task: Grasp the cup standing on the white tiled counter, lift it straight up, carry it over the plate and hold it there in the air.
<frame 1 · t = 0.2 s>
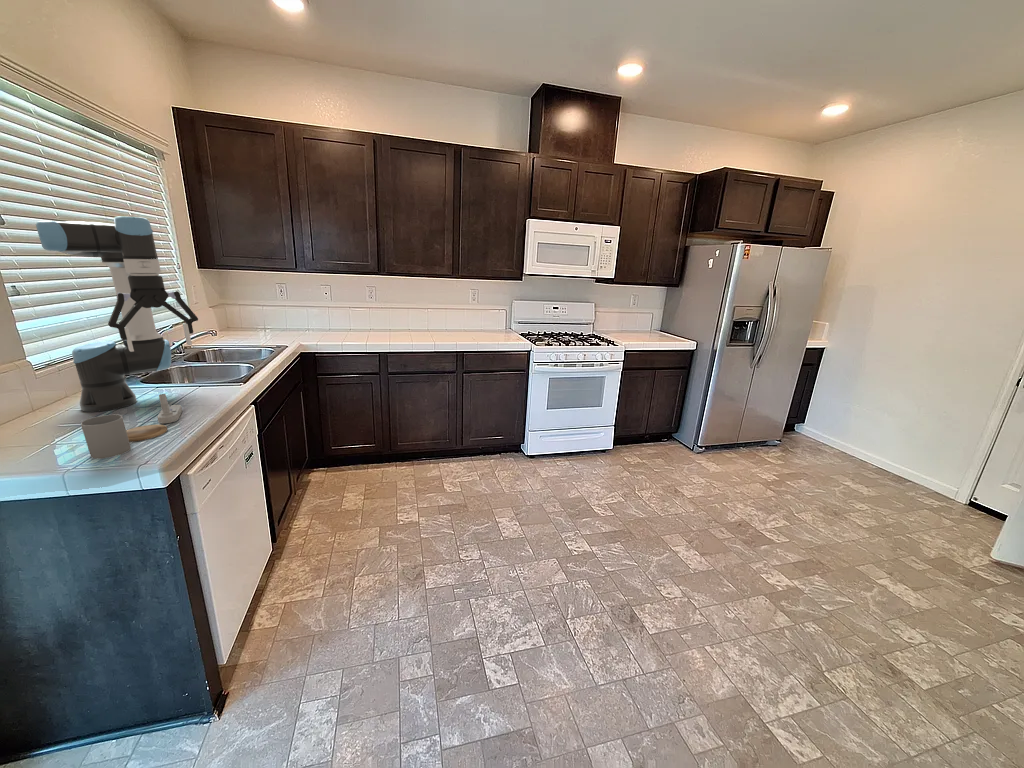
hand: (161, 347, 123), 28 cm above the worktop, fingers open, 13 cm apart
cup: (111, 452, 117), on the worktop
electronic device: (171, 418, 143), on the worktop
plate: (143, 434, 129), on the worktop
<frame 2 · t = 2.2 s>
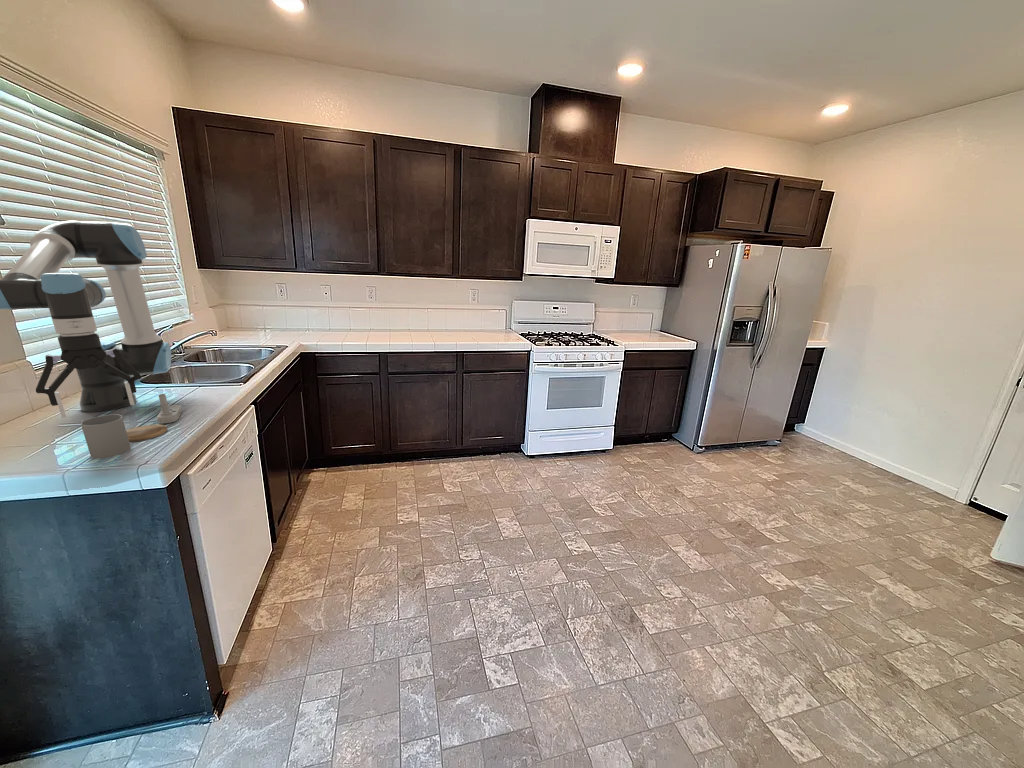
hand: (99, 410, 113), 13 cm above the worktop, fingers open, 13 cm apart
nothing on the worktop moved.
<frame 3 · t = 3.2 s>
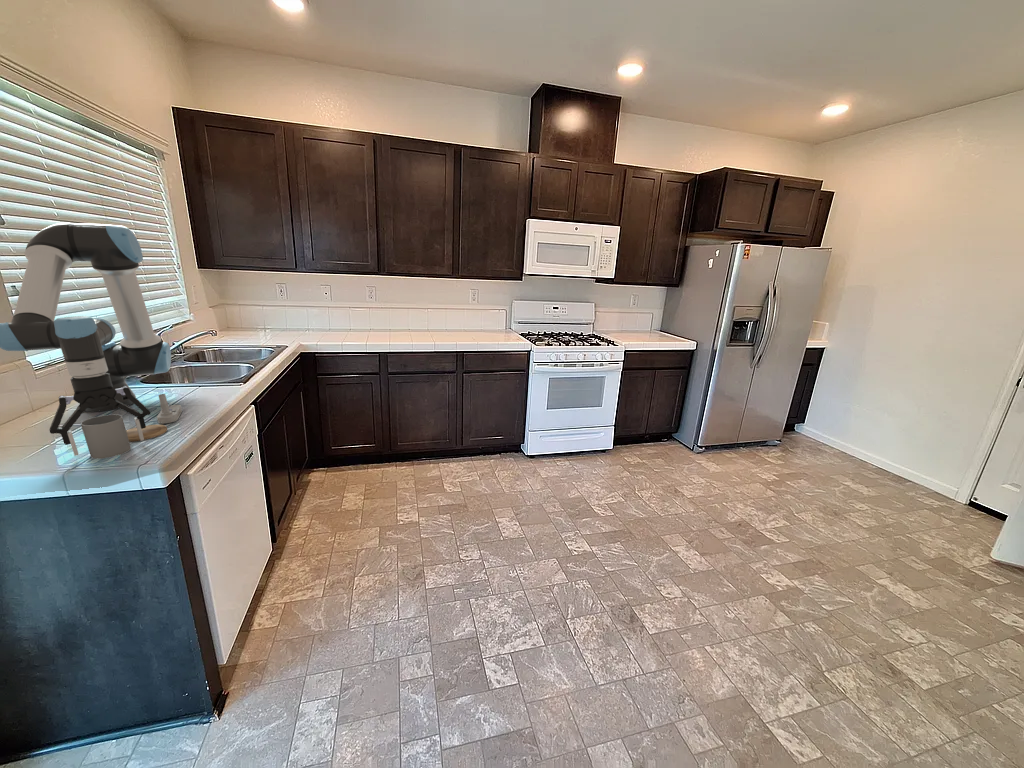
hand: (110, 446, 117), 2 cm above the worktop, fingers open, 13 cm apart
nothing on the worktop moved.
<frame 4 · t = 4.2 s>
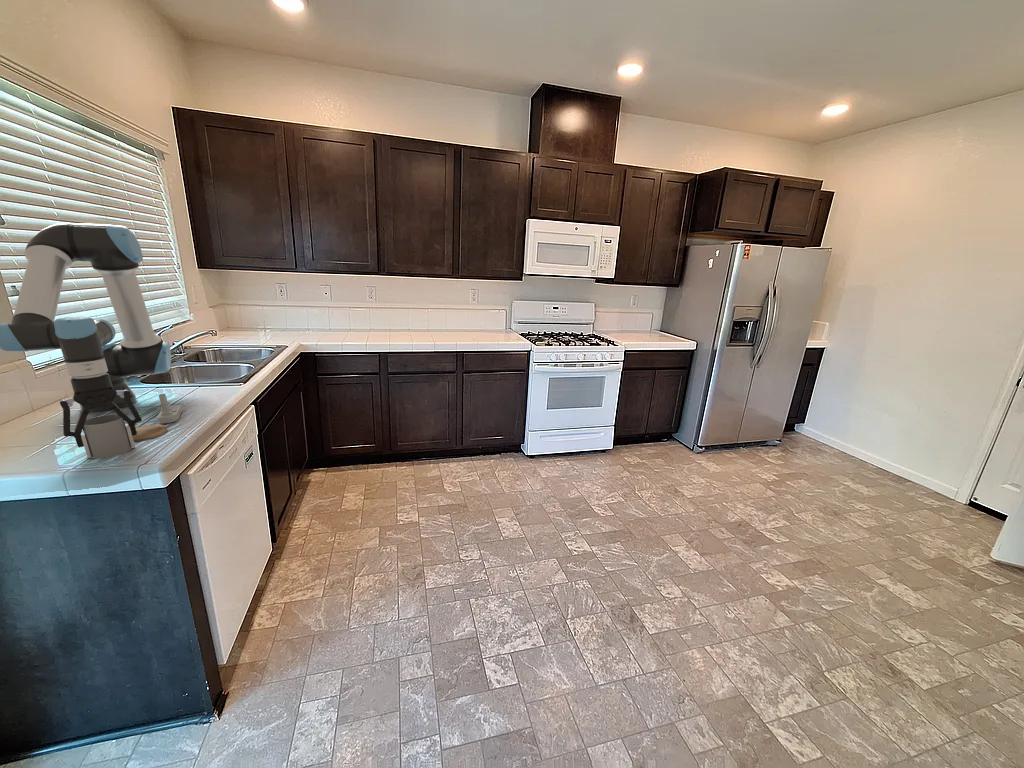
hand: (111, 451, 117), 0 cm above the worktop, fingers closed on cup, 8 cm apart
cup: (112, 452, 117), on the worktop, touching gripper
everything else where it was.
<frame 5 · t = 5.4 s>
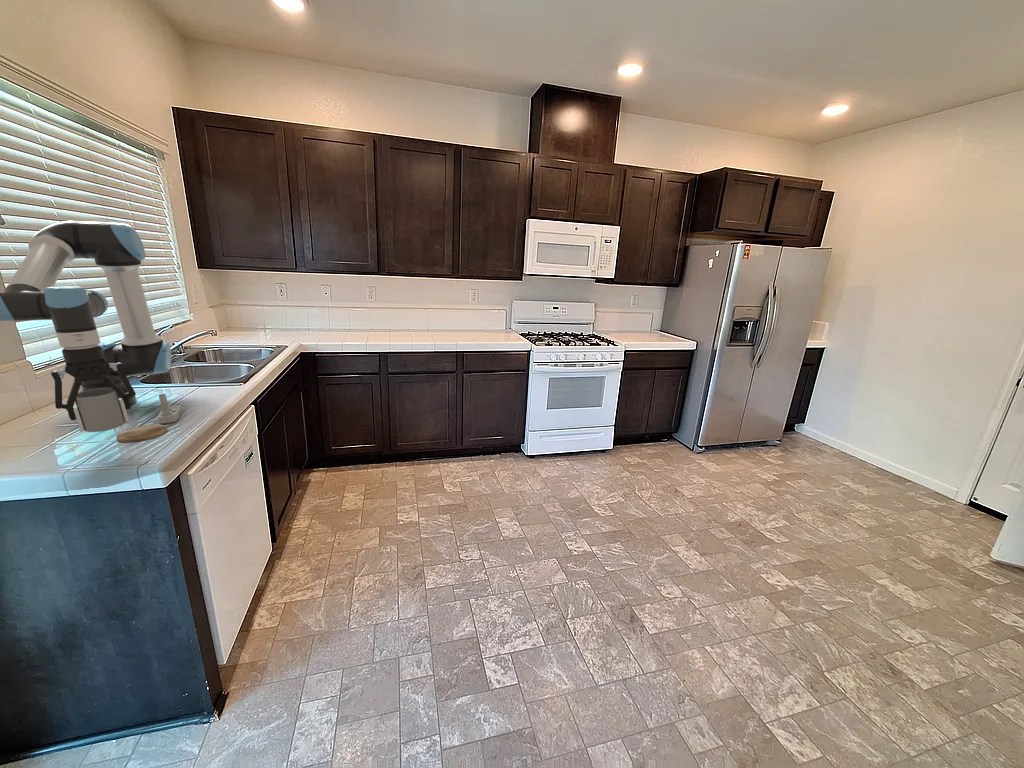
hand: (105, 424, 115), 8 cm above the worktop, fingers closed on cup, 8 cm apart
cup: (105, 426, 115), point 8 cm above the worktop, touching gripper
everything else where it was.
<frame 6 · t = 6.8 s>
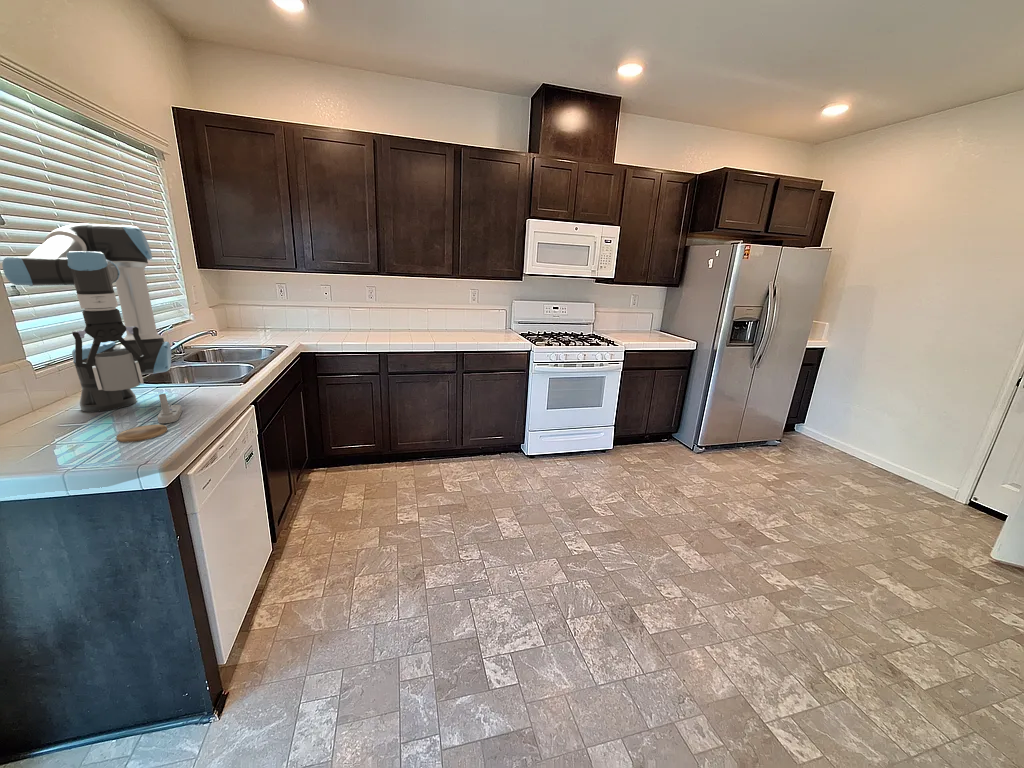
hand: (121, 385, 122), 17 cm above the worktop, fingers closed on cup, 8 cm apart
cup: (121, 387, 122), point 16 cm above the worktop, touching gripper
everything else where it was.
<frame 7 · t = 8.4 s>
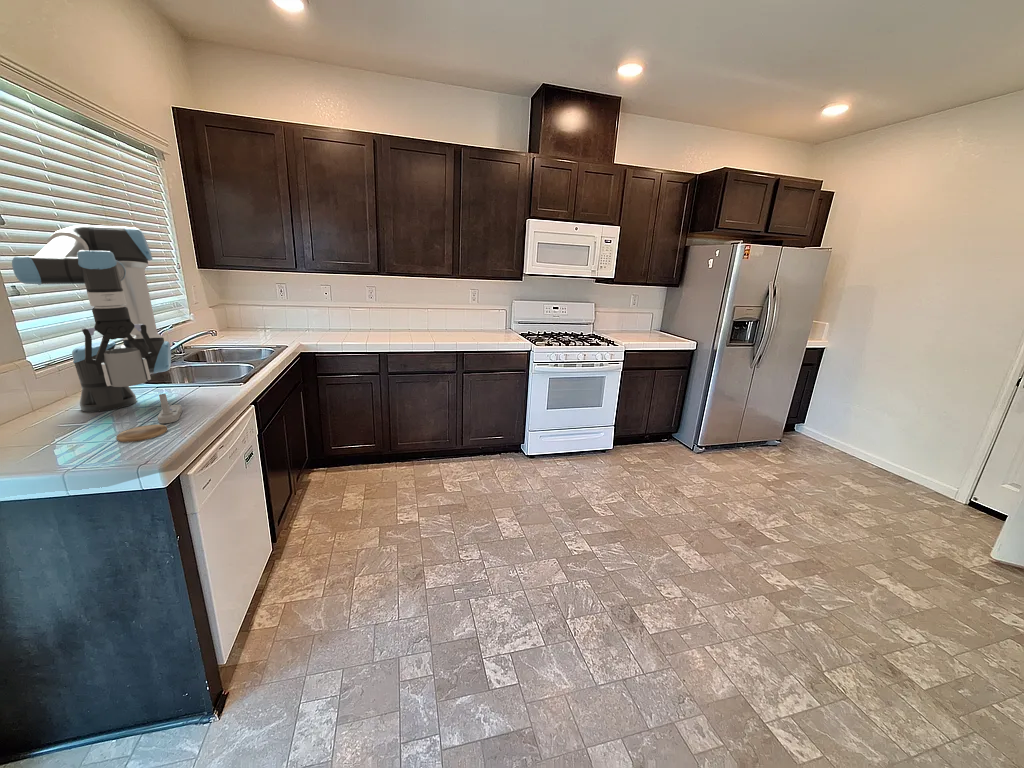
hand: (129, 381, 124), 17 cm above the worktop, fingers closed on cup, 8 cm apart
cup: (129, 383, 125), point 17 cm above the worktop, touching gripper
everything else where it was.
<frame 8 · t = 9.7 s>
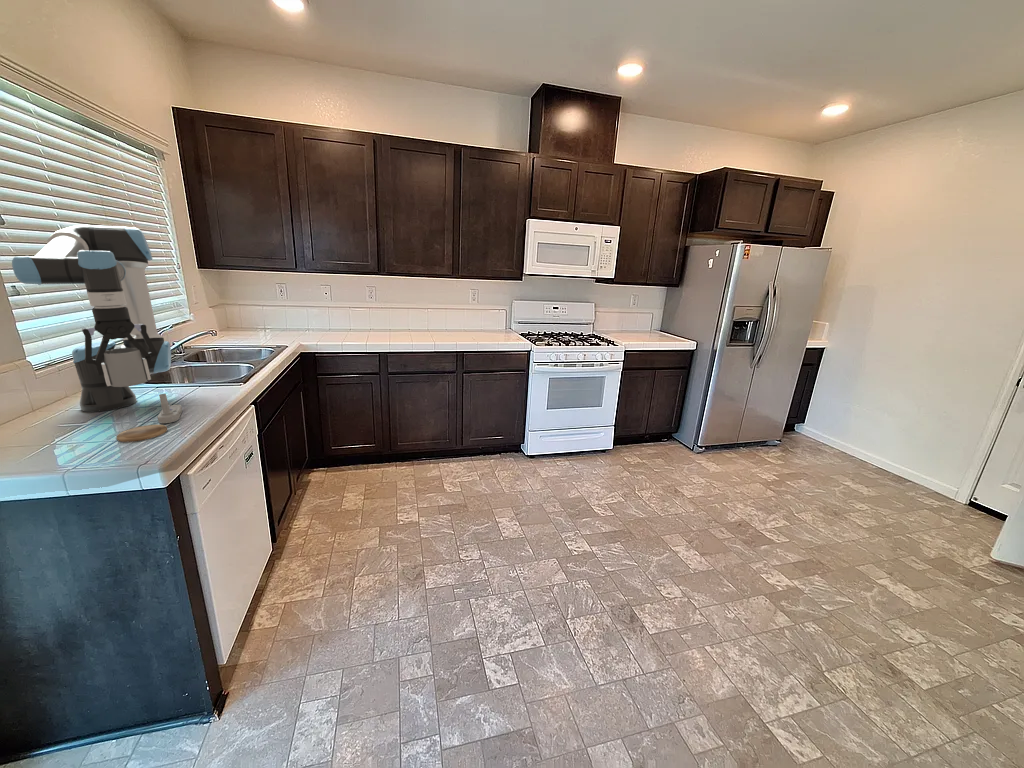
hand: (129, 381, 124), 17 cm above the worktop, fingers closed on cup, 8 cm apart
cup: (129, 383, 125), point 17 cm above the worktop, touching gripper
everything else where it was.
at the end: the gripper is holding cup; cup point 16.7 cm above the worktop; cup 0.3 cm from the plate (horizontally) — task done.
